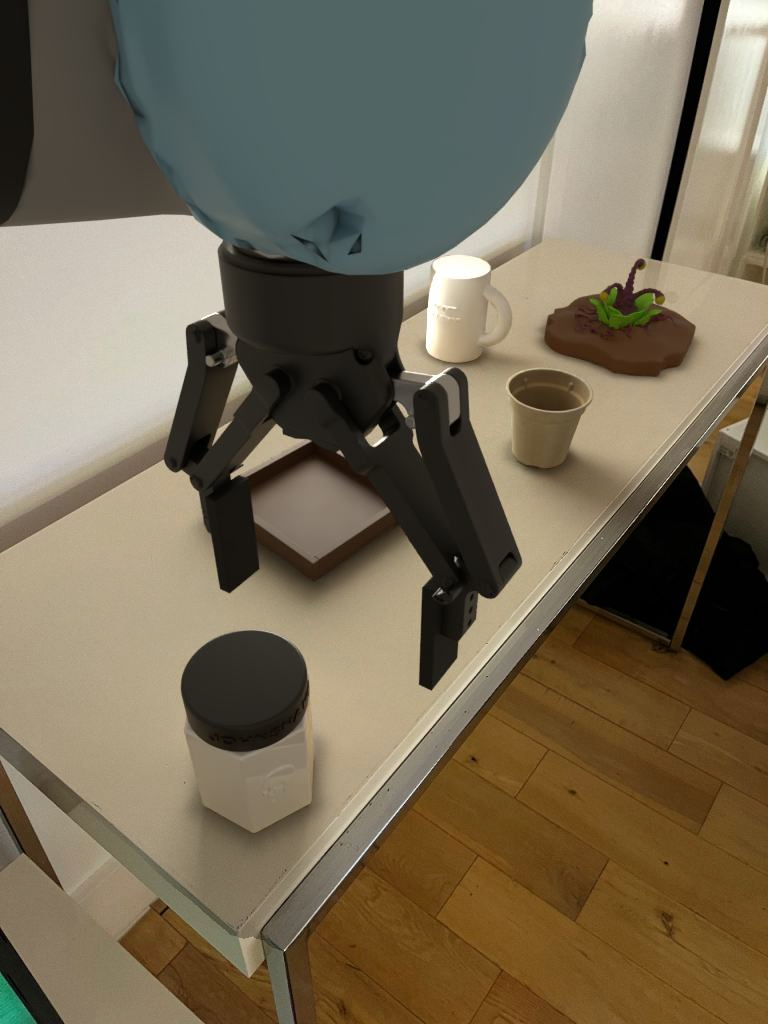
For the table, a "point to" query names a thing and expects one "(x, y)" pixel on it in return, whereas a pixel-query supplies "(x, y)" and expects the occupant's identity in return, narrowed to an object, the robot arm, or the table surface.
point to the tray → (315, 508)
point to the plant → (621, 329)
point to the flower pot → (545, 414)
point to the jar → (250, 727)
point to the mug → (463, 309)
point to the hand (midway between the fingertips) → (332, 622)
